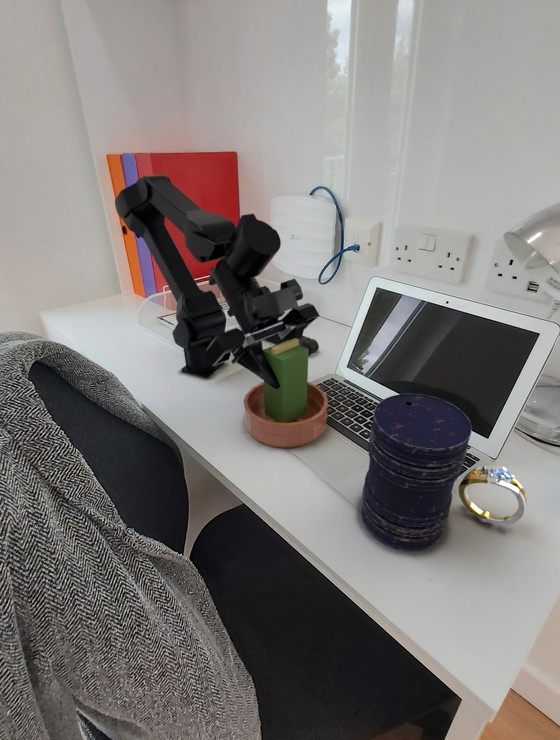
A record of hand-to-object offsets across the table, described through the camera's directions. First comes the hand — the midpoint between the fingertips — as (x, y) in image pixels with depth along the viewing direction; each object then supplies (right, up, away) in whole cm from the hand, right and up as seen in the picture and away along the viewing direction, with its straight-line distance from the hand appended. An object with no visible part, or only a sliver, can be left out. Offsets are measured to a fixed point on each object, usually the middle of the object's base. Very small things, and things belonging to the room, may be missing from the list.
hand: (291, 381), depth 62 cm
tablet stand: (0, +8, +30) cm, 32 cm away
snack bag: (-1, -5, +4) cm, 7 cm away
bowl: (-1, -7, +5) cm, 9 cm away
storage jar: (+13, -17, -12) cm, 24 cm away
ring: (+23, -17, -12) cm, 31 cm away
